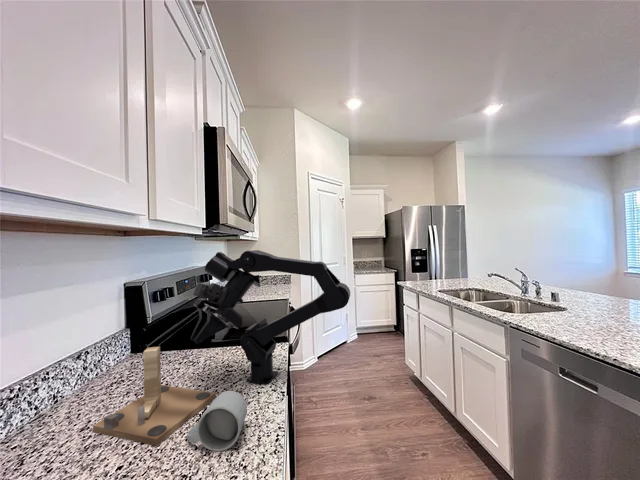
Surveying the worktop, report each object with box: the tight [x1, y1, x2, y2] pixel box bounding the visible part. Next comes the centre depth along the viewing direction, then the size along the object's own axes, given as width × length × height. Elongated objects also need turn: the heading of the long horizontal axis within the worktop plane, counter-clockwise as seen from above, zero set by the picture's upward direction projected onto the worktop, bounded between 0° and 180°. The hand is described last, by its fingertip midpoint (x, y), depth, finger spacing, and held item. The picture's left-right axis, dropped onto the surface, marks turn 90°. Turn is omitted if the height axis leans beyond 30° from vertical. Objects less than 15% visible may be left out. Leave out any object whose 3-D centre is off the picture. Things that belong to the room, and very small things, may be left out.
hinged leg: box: [142, 346, 162, 418], centre depth 63 cm, size 7×3×12 cm, turn 13°
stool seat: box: [92, 384, 217, 447], centre depth 64 cm, size 17×16×4 cm
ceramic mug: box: [186, 390, 248, 452], centre depth 55 cm, size 11×8×8 cm
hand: (193, 341), depth 71 cm, fingers open, 2 cm apart
